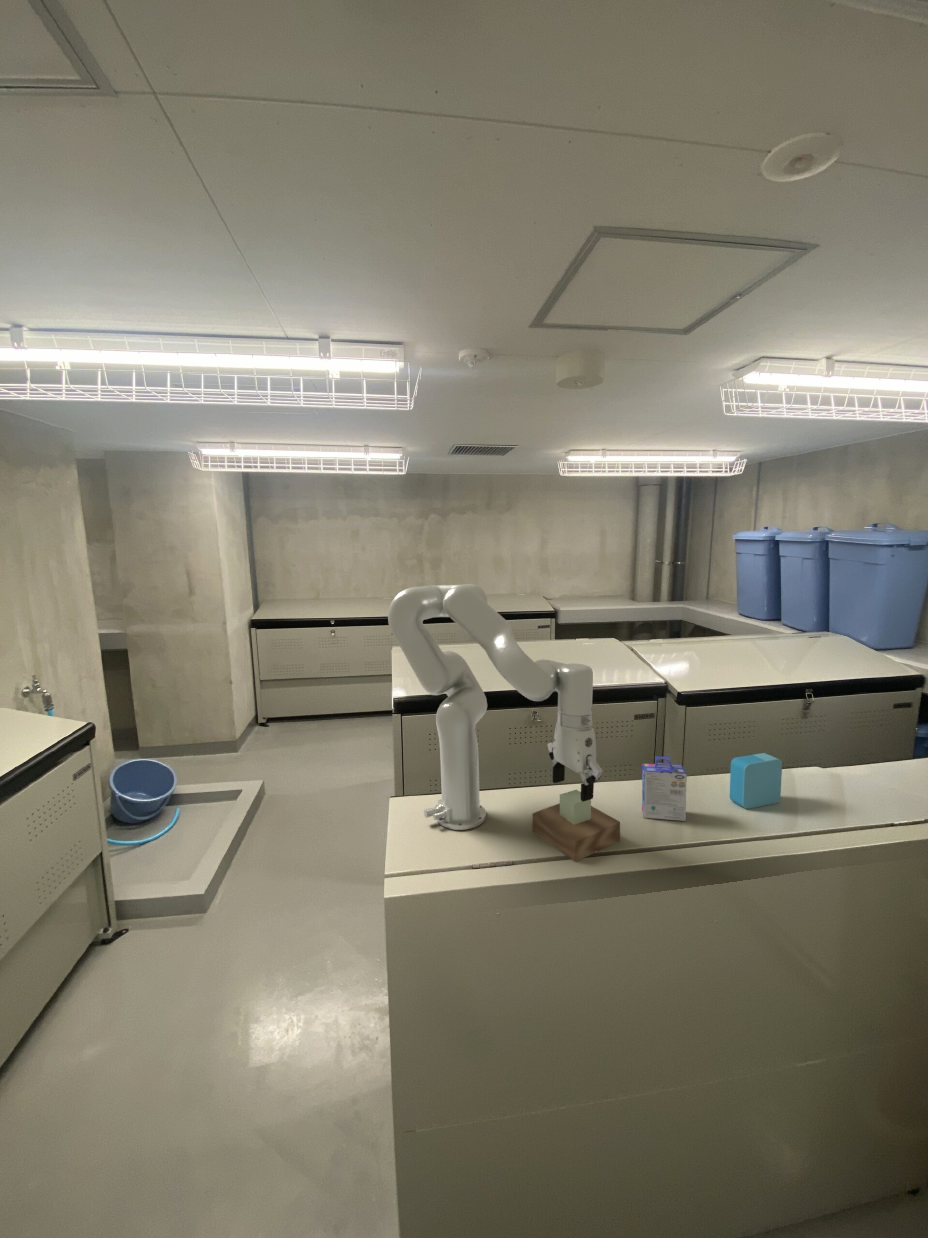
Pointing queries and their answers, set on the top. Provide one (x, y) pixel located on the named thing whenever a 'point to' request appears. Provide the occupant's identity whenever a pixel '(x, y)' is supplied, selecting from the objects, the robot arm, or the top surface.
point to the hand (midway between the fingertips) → (572, 790)
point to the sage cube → (574, 807)
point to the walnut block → (576, 832)
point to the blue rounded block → (755, 780)
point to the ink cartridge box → (664, 790)
